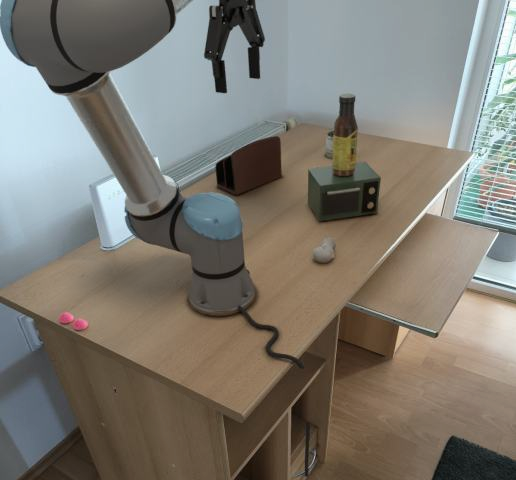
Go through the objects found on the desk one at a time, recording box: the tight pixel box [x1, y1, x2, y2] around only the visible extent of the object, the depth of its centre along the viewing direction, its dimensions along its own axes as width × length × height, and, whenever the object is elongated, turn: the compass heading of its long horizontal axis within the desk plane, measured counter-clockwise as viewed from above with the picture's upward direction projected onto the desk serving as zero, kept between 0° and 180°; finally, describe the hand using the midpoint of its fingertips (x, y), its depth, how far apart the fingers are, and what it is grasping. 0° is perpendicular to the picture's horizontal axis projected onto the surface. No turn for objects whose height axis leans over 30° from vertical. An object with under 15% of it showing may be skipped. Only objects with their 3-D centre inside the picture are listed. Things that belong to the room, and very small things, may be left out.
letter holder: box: [214, 135, 283, 196], centre depth 162 cm, size 10×20×14 cm, turn 131°
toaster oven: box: [307, 161, 382, 223], centre depth 143 cm, size 14×17×11 cm
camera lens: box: [325, 130, 334, 159], centre depth 177 cm, size 6×6×8 cm
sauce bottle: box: [331, 93, 359, 177], centre depth 134 cm, size 7×6×20 cm
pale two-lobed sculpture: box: [312, 237, 337, 264], centre depth 127 cm, size 4×8×5 cm
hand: (238, 85), depth 119 cm, fingers open, 13 cm apart
